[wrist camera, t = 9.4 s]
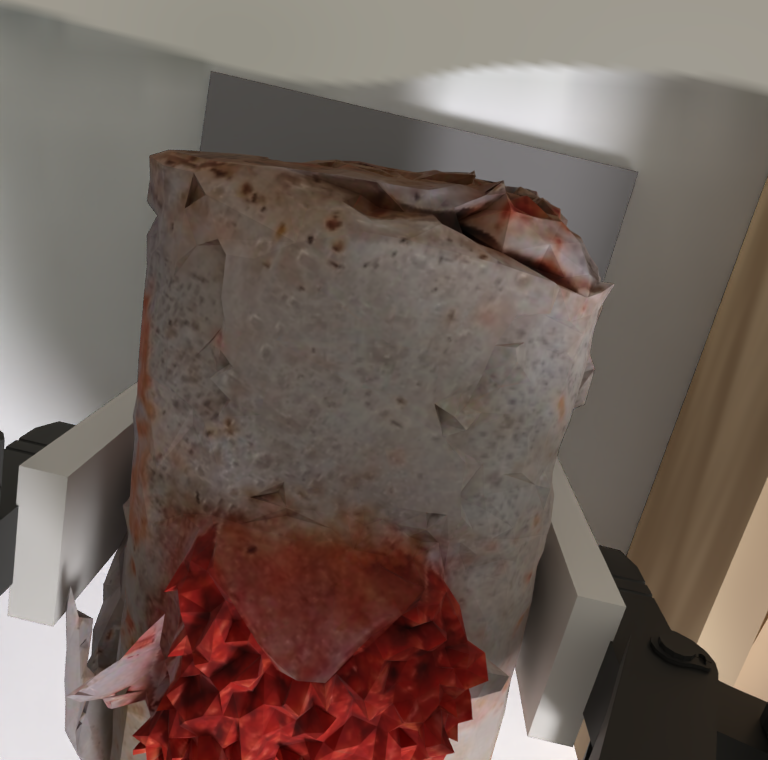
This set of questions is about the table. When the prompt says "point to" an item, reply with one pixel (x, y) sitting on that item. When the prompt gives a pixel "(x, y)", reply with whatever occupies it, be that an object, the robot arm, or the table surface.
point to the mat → (413, 151)
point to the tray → (716, 481)
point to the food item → (333, 463)
